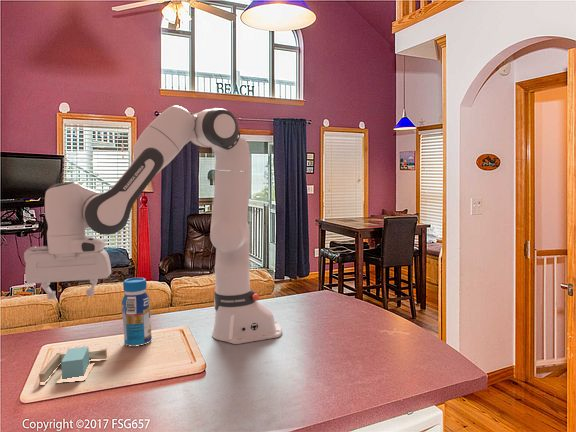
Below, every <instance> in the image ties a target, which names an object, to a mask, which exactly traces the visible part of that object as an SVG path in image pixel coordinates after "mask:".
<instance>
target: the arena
mask: <svg viewBox="0 0 576 432" xmlns="http://www.w3.org/2000/svg"><path fill="white" fill-rule="evenodd" d="M88 350H89V360H91V359H106V358H107V359H108V356H107V355H108V354H107V353H108V352H107V350H108V349H107V348H99V349H98V348H97V349H88ZM66 352H67V351H64V352H57V353H56V354H55V355H54V356H53V357H52V359H51V360H50V361H49V362H48V363H47V364H46V366H44V368H42V370H41V371H40V373H38V379H39V383H40V382H45V381H46V380H47V379H48V378H49V376H50V375H51V374H52V373H53V371H54V370H55V369H56V368H57V367H58V365H59V364H60V363H61V361H62V360H63V358H64V356H65V354H66Z"/></svg>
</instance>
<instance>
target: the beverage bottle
mask: <svg viewBox="0 0 576 432" xmlns="http://www.w3.org/2000/svg"><path fill="white" fill-rule="evenodd" d="M146 279H147V278H144V277H132V278H127V279H124V280H123V284H122V285H123V291H124V293H125V294H124V296H123V297H122V301H121V305H122V309H121V315H122V321H123V322H122V323H123V326H122V327H123V336H124V337H123V338H124V339H123V340H124V341H123V342H124V345H125V344H126V345H125V346H127V345H131V346H136V345H141V344H145V343H147V342H149V341H152V340H153V338H152V337H153V336H152V321H151V319H152V318H151V310H152V308H151V304H150V301H151V300H150V296H149V295H148V293H147V292H146V291H147V280H146ZM151 339H152V340H151Z"/></svg>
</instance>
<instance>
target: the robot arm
mask: <svg viewBox="0 0 576 432" xmlns="http://www.w3.org/2000/svg"><path fill="white" fill-rule="evenodd" d="M188 143H189V144H191V145H192V146H195V147H198V148H211V149H212V150H213V152H214V157H215V165H214V166H215V167H214V168H215V170H214V189H213V190H214V192H213V193H214V195H213V201H212V209H211V210H212V211H211V220H210V233H209V238H210V242H211V244H212V246H213V247H214V248H215V262H214V282H215V283H214V284H215V285H214V287H215V290H214V294H213V295H214V296H213V301H214V302H213V303H214V304H213V306H214V310H215V313H214V314H215V317H214V324H213V329H212V334H211V336H212V338H214V339H215V340H217V341H221V342H226V343H230V344H233V345H240V344H246V343H251V342H258V341H263V340H264V341H265V340H269V339H274V338H280V337H281V336H282V333H283V331H282V327H281V325H280V324H279V323H278V322H276V321H275V317H274V315H273V313H272V311H271V310H270V309H269V308H268V307H267V306H264V305H263V304H262V303H260V302H259V300H260V299H259V298H260V296H259V294H258V293H257V292H256V291H255V290H254V289H251V286H250V285H251V283H250V282H251V281H250V243H251V242H250V237H251V236H250V231H251V230H250V224H249V222H248V214H249V203H250V189H251V188H250V186H251V155H250V154H251V153H250V148H249V143H248V141H247V139H246V138H244V137H242V136H241V131H240V130H239V124H238V120H237V118H236V117H235V114H233V113H232V112H231V111H230V110H228V109H225V108H219V107H214V108H208V109H204V110H201V111H199V112H196V113H191V112H190V111H188V110H187V109H186V108H184V107H182V106H179V105H171V106H169V107H168V108H166V109H165V110H163V111H162V112H161V113H160V114H159V115H158V116H156V117H155V118H154V119H152V121H151V122H150V123H149V124H148V125H147V126H146V128H145V129H143V131H142V132H141V134H140V135H139V137H138V139H136V142H135V144H134V146H133V160H132V162H131V164H130V165H129V167H128V168H127V169H126V171H124V173H123V174H122V175H121V177H120V178H119V179H118V180H117V182H115V184H114V185H113V187H111V189H108V190H106V192H100V191H97V190H94V189H92V188H88V187H87V186H84V185H82V184H80V183H79V182H78V181H66V182H60V183H57V184H53V185H51V186H49V187H48V188H47V190H46V191H45V193H44V194H45V195H44V214H45V215H44V216H45V220H46V224H47V231H46V240H47V241H46V242H47V245H42V246H30V247H29V248H27V249H26V250H25V251H24V252H23V253H24V254H23V260H24V262H25V269H24V277H25V279H24V280H25V281H26V282H27V283H28V284H29V285H30V284H41V289H43V290H44V292H45V293H46V296H47V298H46V299H47V300H55V299H56V297H57V295H56V290H52V289H51V287H50V285H51V283H57V282H58V283H60V282H70V281H71V282H72V281H87V280H89V283H90V284H91V286H90V288H87V289H86V290H85V292H86V297H93V296H94V295H95V287H96V285H97V283H98V282H99V281H98V280H102V279H105V280H106V279H107V278H109V277H110V276H111V274H112V265H111V260H110V255H109V253H108V252H107V250H106V249H104V248H105V247H106V242H105V241H104V240H103V239H99V238H95V237H91V236H86V229H88V228H89V229H91V230H92V231H94V232H95V233H97V234H100V235H105V236H106V235H107V236H108V235H113V234H116V233H119V232H120V231H121V230H122V229H124V228H125V227H126V225H127V224H128V221H129V219H130V216H131V212H132V209H133V206H134V204H135V203H136V200H137V199H138V198H139V197H140V195H142V193H143V192H144V190H145V189H146V188H147V186H149V184H150V182H152V180H153V179H154V178H155V177H156V176H157V174H159V173H160V172H162V170H163V169H164V168H165V167H167V166H168V165H169V164H170V163H171V162H172V161H173V160H174V159H175V157H176V156H177V155H178V154H179V153H180V152H181V150H182V149H183V147H185V146H186V145H187V144H188Z"/></svg>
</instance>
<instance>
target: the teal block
mask: <svg viewBox="0 0 576 432" xmlns="http://www.w3.org/2000/svg"><path fill="white" fill-rule="evenodd" d="M89 350H90V349H89V346H82V347H74V348H68V349H67V351H65V352H66V354H65V356H64V358H63V360H62V361H61V365H60V367H61V375H62V379H67V378H72V377H79V376H84V374H85V372H86V369H87V367H88V365H89V363H90V362H89Z"/></svg>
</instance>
